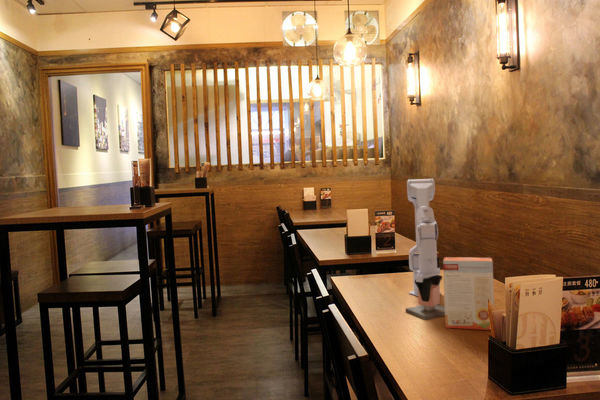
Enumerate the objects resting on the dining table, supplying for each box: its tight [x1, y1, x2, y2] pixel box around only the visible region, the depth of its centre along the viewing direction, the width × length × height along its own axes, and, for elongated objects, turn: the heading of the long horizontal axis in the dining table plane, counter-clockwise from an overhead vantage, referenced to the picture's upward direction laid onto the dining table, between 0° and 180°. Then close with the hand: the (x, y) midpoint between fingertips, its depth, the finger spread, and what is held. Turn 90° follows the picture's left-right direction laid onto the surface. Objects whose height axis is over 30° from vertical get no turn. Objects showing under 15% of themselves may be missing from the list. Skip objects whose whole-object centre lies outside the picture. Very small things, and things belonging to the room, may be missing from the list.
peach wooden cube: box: [417, 284, 441, 307], centre depth 160 cm, size 5×5×6 cm
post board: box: [405, 303, 445, 320], centre depth 160 cm, size 12×10×6 cm
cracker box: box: [442, 256, 495, 331], centre depth 145 cm, size 14×6×21 cm, turn 71°
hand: (429, 299), depth 160 cm, fingers closed on peach wooden cube, 5 cm apart
